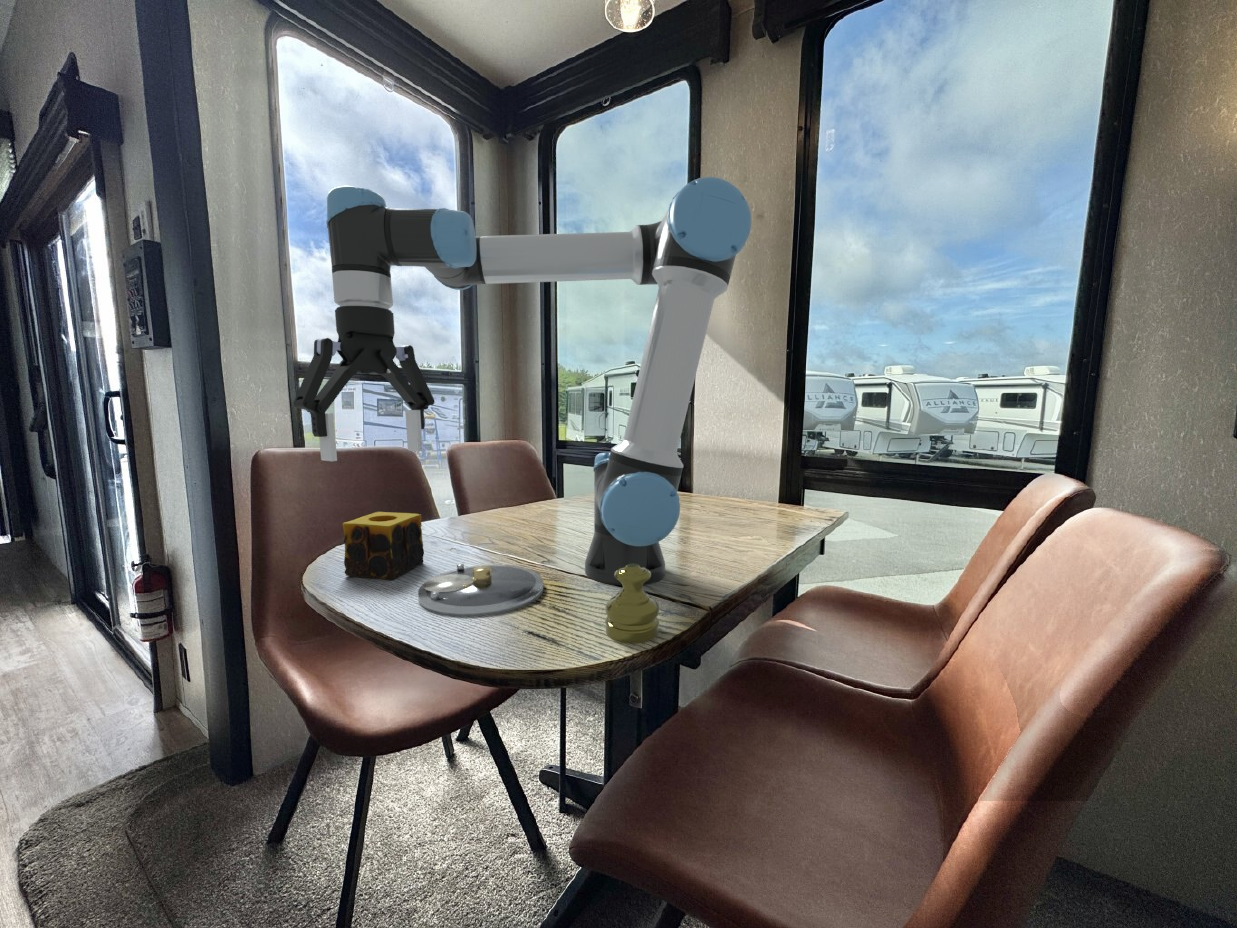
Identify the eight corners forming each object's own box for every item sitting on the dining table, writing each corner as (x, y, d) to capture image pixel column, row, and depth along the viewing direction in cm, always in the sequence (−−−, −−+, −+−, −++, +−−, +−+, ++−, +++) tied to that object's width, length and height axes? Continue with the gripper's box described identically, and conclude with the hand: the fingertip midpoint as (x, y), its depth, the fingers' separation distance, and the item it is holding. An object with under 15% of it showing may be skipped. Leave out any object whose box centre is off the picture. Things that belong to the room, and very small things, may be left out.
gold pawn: (669, 635, 70) (671, 565, 69) (632, 654, 65) (633, 578, 63) (631, 618, 75) (632, 553, 74) (594, 634, 70) (594, 564, 69)
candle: (393, 581, 90) (390, 526, 88) (343, 577, 92) (339, 523, 90) (425, 563, 99) (423, 513, 98) (380, 559, 101) (377, 510, 100)
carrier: (550, 571, 95) (549, 551, 94) (533, 618, 75) (532, 592, 74) (442, 571, 95) (442, 550, 94) (397, 617, 75) (395, 591, 74)
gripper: (422, 320, 85) (430, 446, 88) (253, 297, 64) (270, 463, 67) (452, 316, 81) (459, 448, 84) (282, 290, 60) (299, 467, 63)
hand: (375, 455), depth 75 cm, fingers open, 13 cm apart
